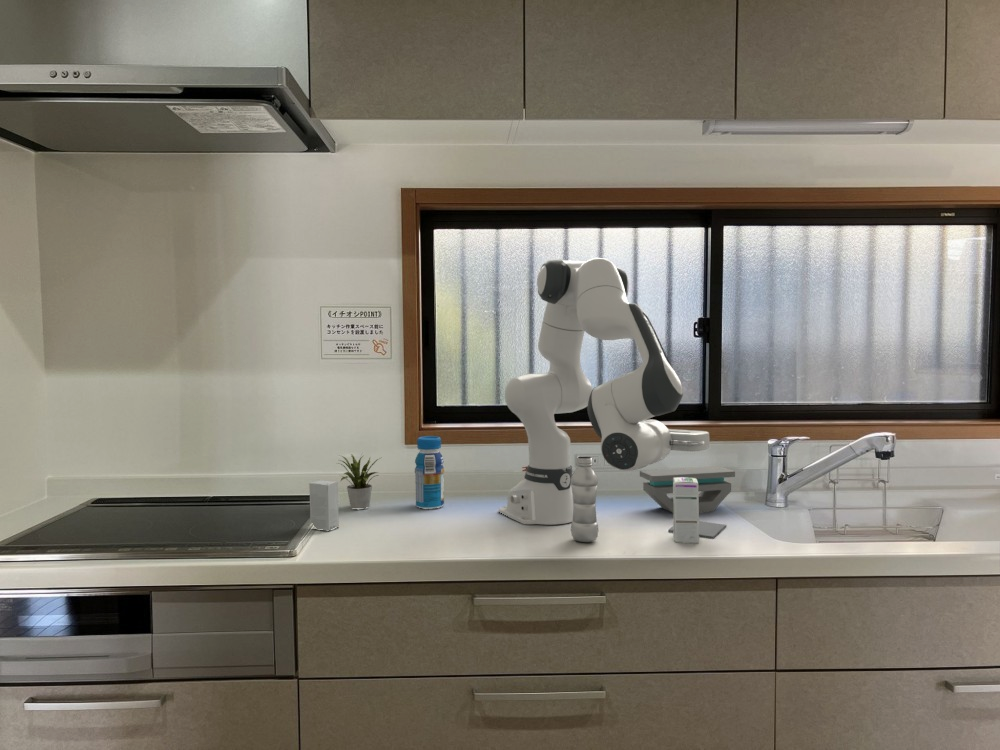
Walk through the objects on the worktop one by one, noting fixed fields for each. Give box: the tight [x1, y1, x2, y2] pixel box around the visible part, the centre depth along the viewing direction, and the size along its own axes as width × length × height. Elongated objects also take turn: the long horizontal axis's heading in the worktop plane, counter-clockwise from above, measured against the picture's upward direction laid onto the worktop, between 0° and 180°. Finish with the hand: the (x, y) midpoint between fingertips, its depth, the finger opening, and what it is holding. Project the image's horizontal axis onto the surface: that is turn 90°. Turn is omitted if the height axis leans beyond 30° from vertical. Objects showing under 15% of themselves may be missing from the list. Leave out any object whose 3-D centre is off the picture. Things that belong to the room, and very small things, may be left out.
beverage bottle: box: [414, 435, 445, 509], centre depth 193 cm, size 8×8×20 cm
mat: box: [667, 520, 727, 539], centre depth 168 cm, size 12×11×1 cm
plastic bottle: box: [570, 455, 599, 543], centre depth 159 cm, size 6×7×20 cm
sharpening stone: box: [639, 465, 736, 514], centre depth 188 cm, size 25×8×11 cm, turn 103°
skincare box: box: [308, 479, 340, 530], centre depth 171 cm, size 6×4×12 cm
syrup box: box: [672, 477, 700, 544], centre depth 159 cm, size 6×6×14 cm
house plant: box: [337, 453, 381, 509], centre depth 192 cm, size 14×14×16 cm
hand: (670, 434), depth 148 cm, fingers closed
